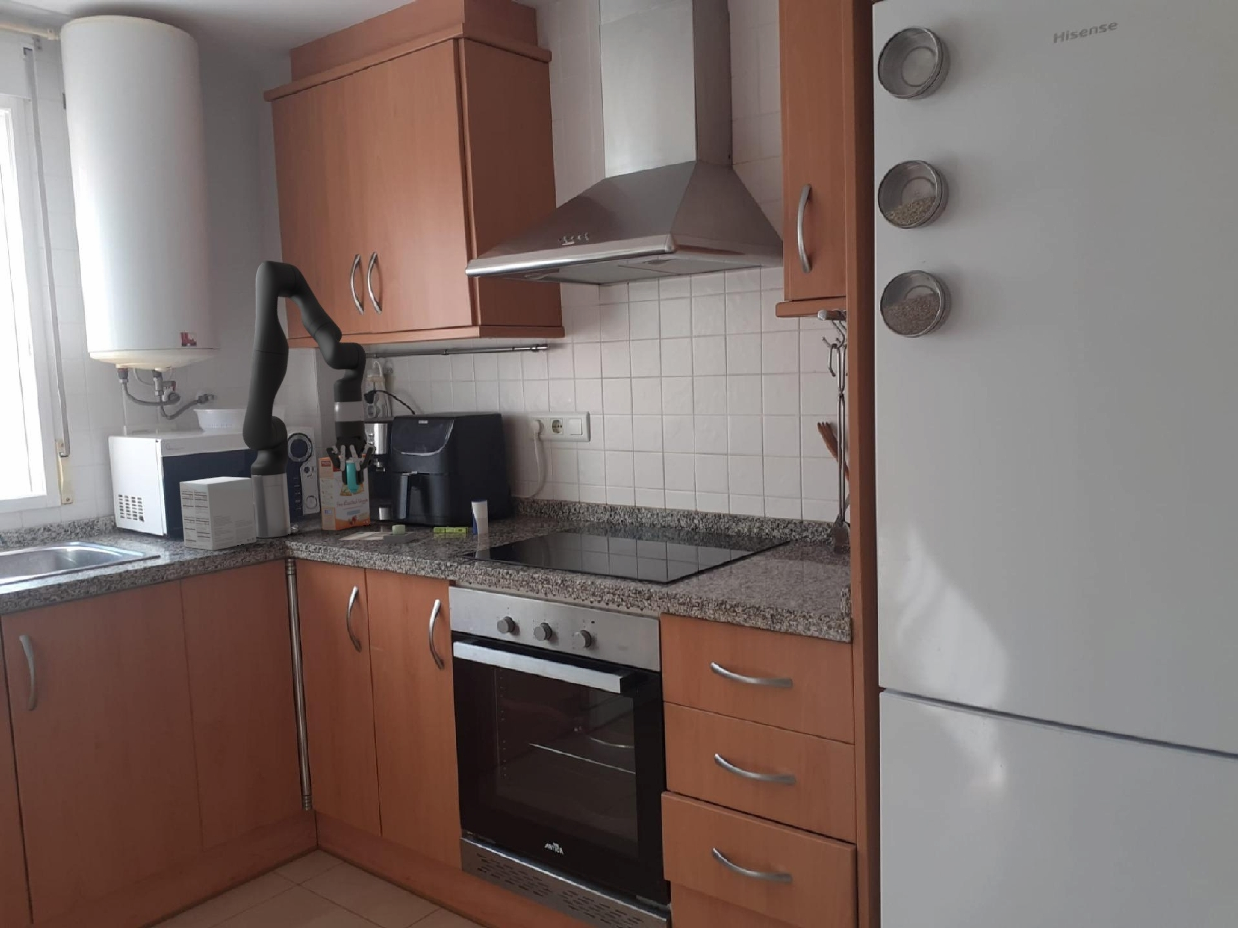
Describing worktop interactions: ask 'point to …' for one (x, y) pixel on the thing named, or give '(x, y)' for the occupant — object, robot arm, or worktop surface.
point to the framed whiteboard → (366, 536)
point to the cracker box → (341, 499)
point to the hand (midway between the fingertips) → (353, 484)
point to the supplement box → (217, 512)
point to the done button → (398, 529)
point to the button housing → (399, 538)
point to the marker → (351, 476)
